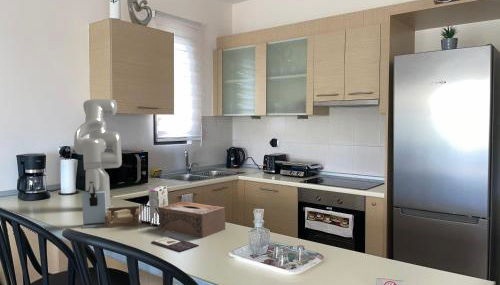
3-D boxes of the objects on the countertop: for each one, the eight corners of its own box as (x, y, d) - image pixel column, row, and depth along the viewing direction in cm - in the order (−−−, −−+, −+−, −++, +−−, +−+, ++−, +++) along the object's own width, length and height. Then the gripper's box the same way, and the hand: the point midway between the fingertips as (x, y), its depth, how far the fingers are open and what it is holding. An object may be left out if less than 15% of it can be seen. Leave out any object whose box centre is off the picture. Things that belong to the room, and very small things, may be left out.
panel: (84, 221, 194) (83, 192, 193) (107, 220, 196) (105, 191, 195) (83, 223, 190) (81, 193, 189) (106, 222, 192) (104, 192, 191)
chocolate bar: (180, 250, 150) (151, 241, 162) (180, 253, 150) (151, 244, 162) (198, 244, 157) (169, 236, 169) (198, 247, 157) (169, 238, 169)
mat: (85, 222, 197) (85, 221, 197) (108, 220, 199) (108, 220, 199) (81, 228, 187) (81, 227, 187) (105, 226, 189) (105, 225, 189)
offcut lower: (112, 224, 193) (112, 216, 193) (132, 222, 196) (132, 214, 196) (112, 226, 189) (112, 218, 189) (133, 224, 192) (132, 216, 192)
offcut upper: (114, 216, 191) (113, 211, 191) (126, 214, 196) (126, 209, 196) (118, 218, 189) (118, 212, 189) (130, 215, 194) (130, 210, 194)
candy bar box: (159, 219, 200) (158, 186, 198) (169, 219, 199) (168, 186, 197) (149, 225, 189) (148, 190, 188) (159, 226, 188) (158, 190, 187)
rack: (109, 220, 201) (108, 207, 201) (139, 217, 204) (139, 205, 204) (105, 227, 187) (104, 214, 187) (137, 225, 190) (137, 212, 190)
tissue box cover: (159, 229, 183) (158, 207, 182) (183, 222, 194) (182, 201, 194) (202, 238, 168) (202, 214, 167) (225, 230, 179) (224, 207, 179)
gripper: (87, 164, 199) (89, 202, 200) (80, 168, 182) (82, 209, 184) (103, 163, 200) (105, 201, 201) (98, 167, 184) (100, 208, 185)
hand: (94, 204), depth 192 cm, fingers closed on panel, 3 cm apart
